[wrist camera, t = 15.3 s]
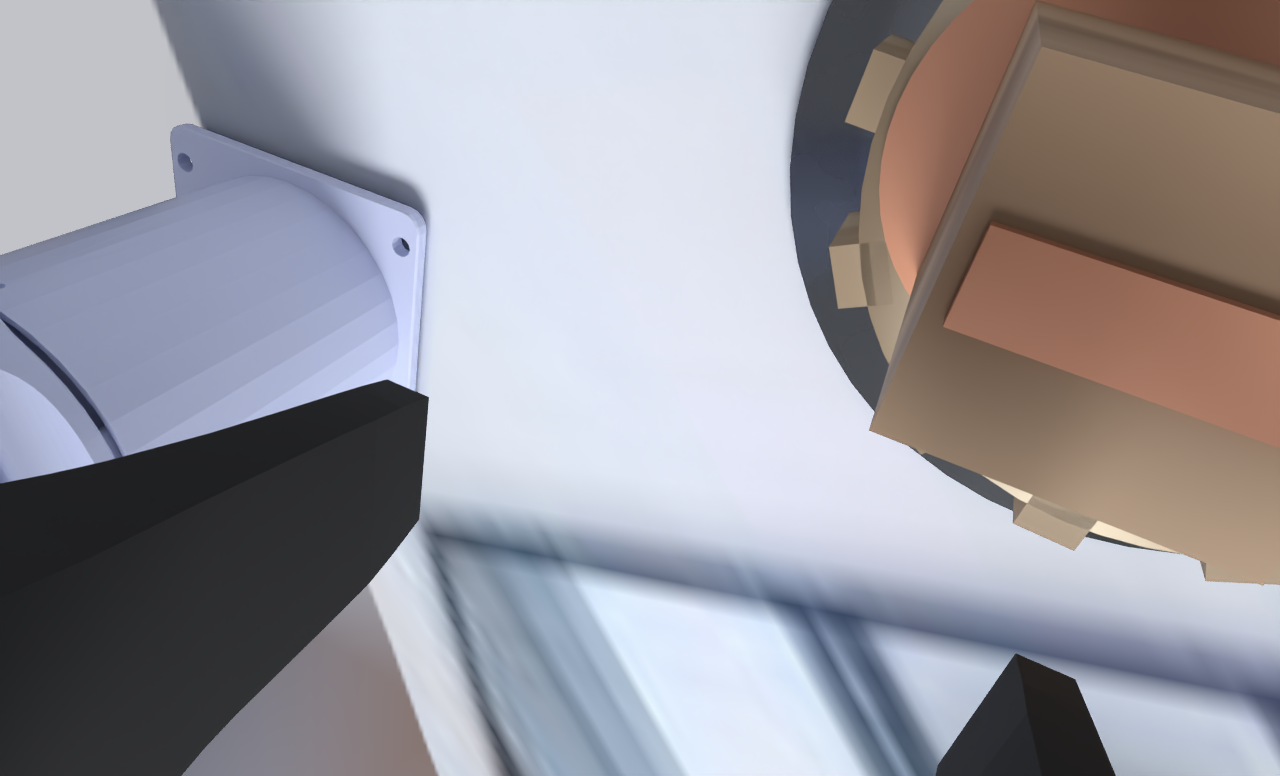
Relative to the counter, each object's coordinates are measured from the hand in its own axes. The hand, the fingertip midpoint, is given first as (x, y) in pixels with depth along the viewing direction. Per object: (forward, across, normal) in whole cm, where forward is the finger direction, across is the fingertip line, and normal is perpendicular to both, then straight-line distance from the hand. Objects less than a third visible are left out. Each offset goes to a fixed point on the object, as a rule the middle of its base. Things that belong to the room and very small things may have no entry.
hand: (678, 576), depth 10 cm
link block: (+7, -4, -4) cm, 9 cm away
